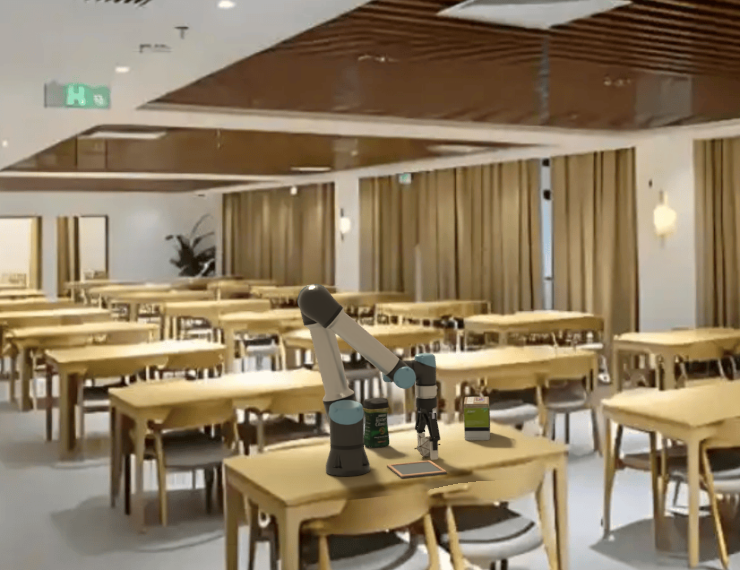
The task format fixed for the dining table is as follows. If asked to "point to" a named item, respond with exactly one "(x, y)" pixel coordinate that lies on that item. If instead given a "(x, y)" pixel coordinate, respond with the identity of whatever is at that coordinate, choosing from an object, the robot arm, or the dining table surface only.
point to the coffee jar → (376, 422)
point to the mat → (416, 469)
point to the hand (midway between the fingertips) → (427, 454)
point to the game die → (424, 446)
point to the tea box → (477, 418)
